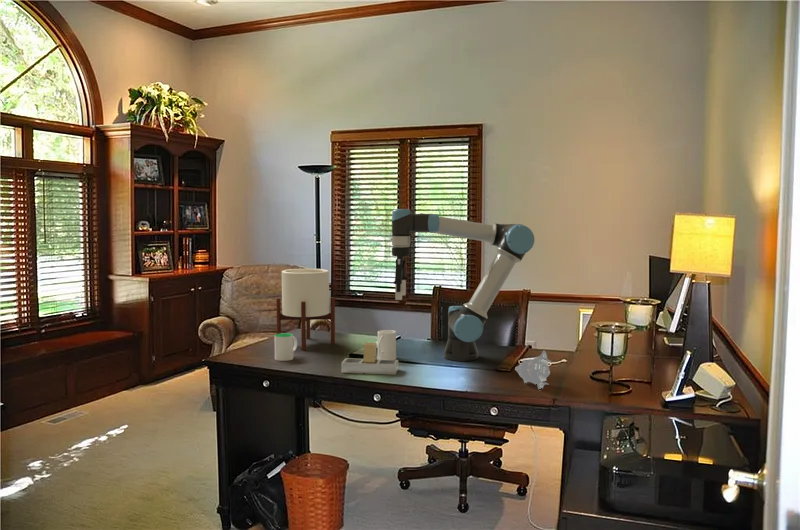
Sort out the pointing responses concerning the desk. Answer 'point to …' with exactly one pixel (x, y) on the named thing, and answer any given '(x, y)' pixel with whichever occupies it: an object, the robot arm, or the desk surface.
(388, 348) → the mug
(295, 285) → the plant pot with stand
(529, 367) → the figurine
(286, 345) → the mug
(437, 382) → the desk surface
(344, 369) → the grey compartment tray
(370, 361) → the brass block
